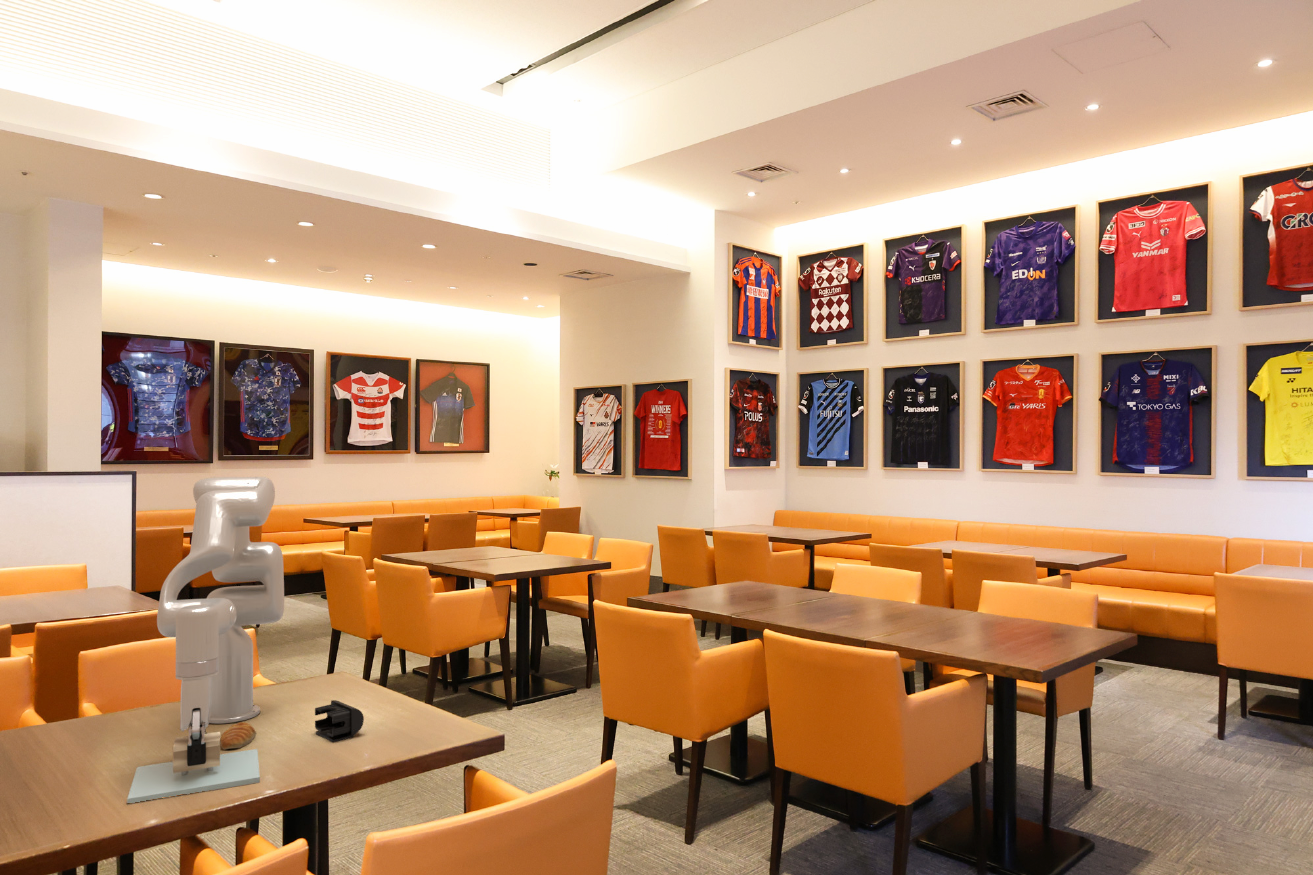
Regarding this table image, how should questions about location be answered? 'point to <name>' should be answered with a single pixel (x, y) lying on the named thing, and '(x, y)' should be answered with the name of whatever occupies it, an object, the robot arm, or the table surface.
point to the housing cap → (211, 753)
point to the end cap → (338, 721)
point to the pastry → (237, 736)
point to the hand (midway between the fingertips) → (197, 758)
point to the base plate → (194, 777)
